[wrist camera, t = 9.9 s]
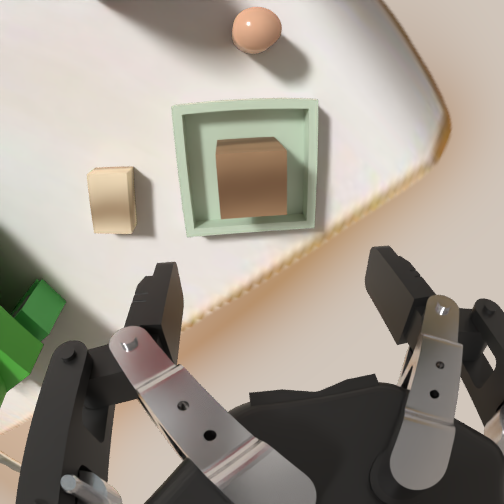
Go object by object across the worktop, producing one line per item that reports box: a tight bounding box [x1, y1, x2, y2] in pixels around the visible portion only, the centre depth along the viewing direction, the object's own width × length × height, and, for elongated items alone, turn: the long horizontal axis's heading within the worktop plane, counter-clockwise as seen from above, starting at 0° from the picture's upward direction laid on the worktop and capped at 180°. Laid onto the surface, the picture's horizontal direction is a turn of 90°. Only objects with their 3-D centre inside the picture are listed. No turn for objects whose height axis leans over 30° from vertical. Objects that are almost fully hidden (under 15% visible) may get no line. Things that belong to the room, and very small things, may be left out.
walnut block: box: [215, 137, 287, 219], centre depth 25 cm, size 5×5×6 cm
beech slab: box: [87, 167, 137, 234], centre depth 27 cm, size 6×4×2 cm, turn 175°
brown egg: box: [232, 7, 282, 54], centre depth 20 cm, size 4×4×4 cm
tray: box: [171, 98, 318, 237], centre depth 27 cm, size 12×12×2 cm
